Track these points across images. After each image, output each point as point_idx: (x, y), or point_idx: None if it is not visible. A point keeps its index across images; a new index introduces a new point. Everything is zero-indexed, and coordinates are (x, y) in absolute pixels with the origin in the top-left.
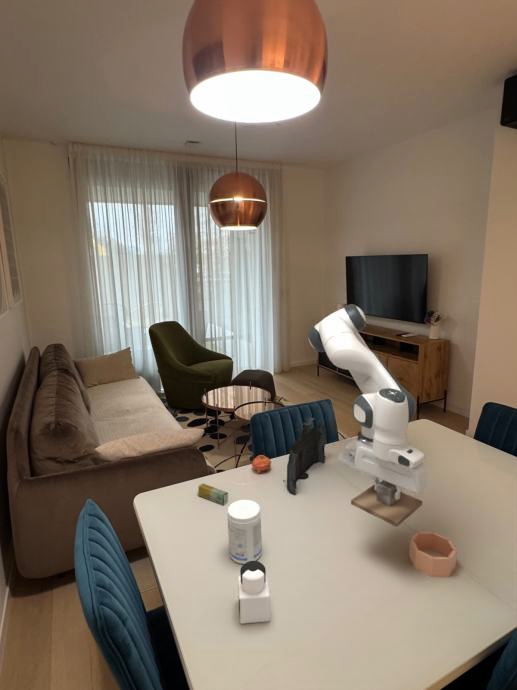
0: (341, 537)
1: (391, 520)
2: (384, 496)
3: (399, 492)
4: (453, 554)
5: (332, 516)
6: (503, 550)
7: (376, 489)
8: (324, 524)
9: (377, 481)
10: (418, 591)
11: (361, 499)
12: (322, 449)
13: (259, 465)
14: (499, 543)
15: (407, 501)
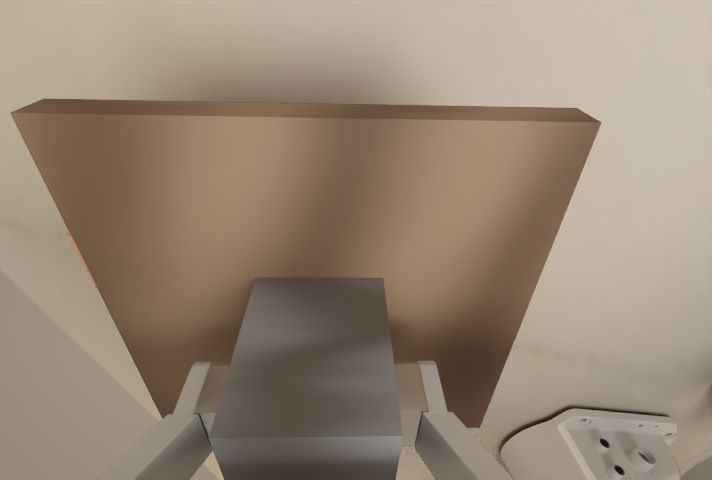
0: (521, 104)
1: (78, 111)
2: (298, 336)
3: (125, 453)
4: (84, 262)
5: (603, 190)
6: (125, 371)
7: (417, 371)
8: (621, 123)
9: (438, 461)
10: (119, 48)
11: (503, 209)
12: None
13: None
14: None
15: None
